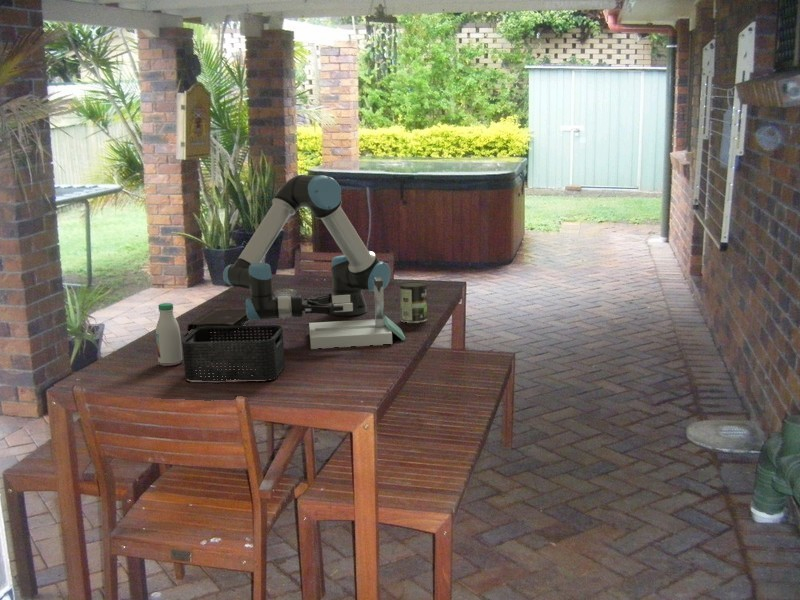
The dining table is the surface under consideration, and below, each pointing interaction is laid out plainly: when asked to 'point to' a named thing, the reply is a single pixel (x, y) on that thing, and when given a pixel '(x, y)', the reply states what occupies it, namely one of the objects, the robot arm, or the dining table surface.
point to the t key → (379, 303)
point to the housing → (348, 334)
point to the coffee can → (413, 302)
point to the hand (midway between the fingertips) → (351, 302)
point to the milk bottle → (168, 335)
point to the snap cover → (394, 328)
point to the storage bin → (234, 353)
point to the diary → (220, 318)
